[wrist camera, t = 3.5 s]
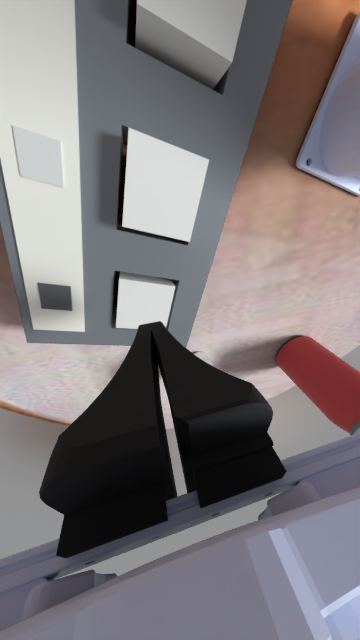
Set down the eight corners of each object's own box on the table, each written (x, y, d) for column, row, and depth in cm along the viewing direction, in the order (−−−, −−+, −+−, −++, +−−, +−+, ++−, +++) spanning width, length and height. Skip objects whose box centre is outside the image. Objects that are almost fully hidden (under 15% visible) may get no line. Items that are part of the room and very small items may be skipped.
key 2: (168, 275, 17) (175, 286, 15) (160, 314, 19) (165, 330, 17) (120, 267, 16) (119, 278, 13) (117, 311, 18) (115, 327, 15)
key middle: (193, 169, 13) (209, 159, 10) (179, 236, 15) (189, 241, 12) (128, 145, 11) (128, 127, 9) (123, 223, 13) (122, 226, 11)
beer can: (308, 356, 31) (392, 425, 21) (273, 370, 31) (342, 447, 21) (313, 327, 27) (417, 395, 17) (273, 344, 27) (356, 422, 17)
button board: (280, -42, 10) (337, -136, 7) (179, 331, 22) (186, 349, 19) (-72, -368, 5) (-270, -938, 3) (41, 323, 17) (25, 344, 14)
